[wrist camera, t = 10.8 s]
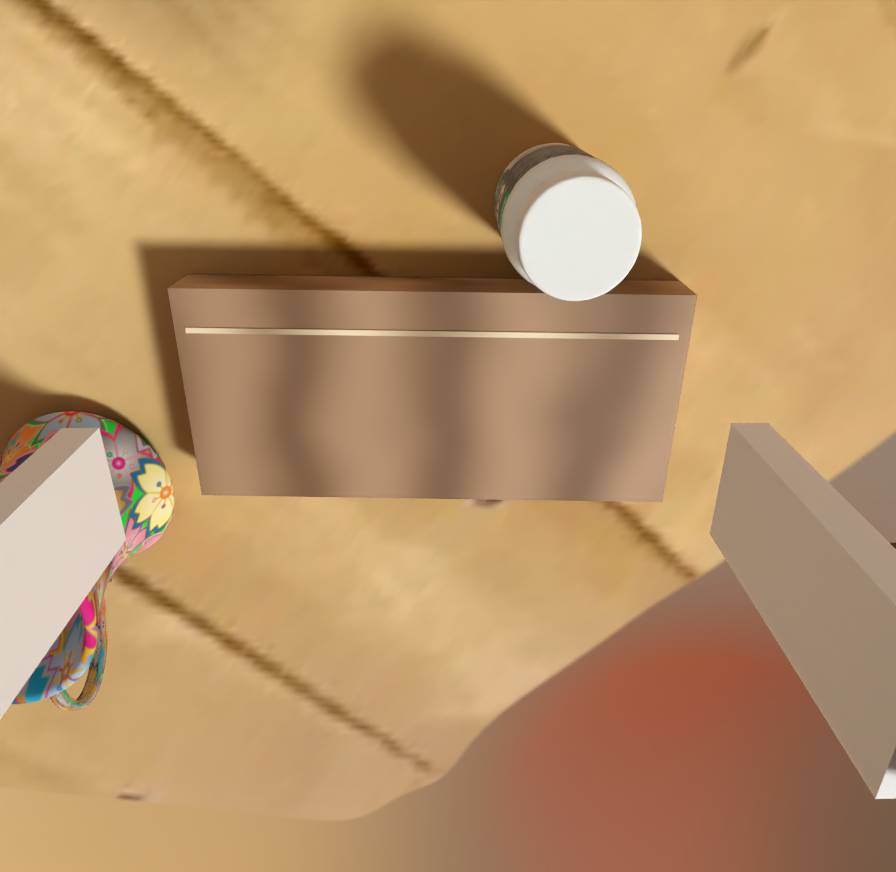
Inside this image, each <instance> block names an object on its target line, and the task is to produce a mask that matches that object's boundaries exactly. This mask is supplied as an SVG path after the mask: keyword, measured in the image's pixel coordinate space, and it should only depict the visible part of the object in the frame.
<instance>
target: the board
mask: <svg viewBox="0 0 896 872" xmlns="http://www.w3.org/2000/svg"><path fill="white" fill-rule="evenodd" d="M167 290H168V296H169V301H170V307H171V313H172V319H173V325H174V331H175V337H176V343H177V349H178V355H179V361H180V367H181V373H182V379H183V385H184V391H185V397H186V403H187V409H188V415H189V421H190V427H191V433H192V439H193V445H194V451H195V456H196V462H197V468H198V474H199V480H200V486H201V492H202V495H233V496H300V497H366V498H433V499H499V500H565V501H632V502H662V500H663V494H664V488H665V482H666V476H667V470H668V464H669V458H670V453H671V447H672V441H673V435H674V429H675V423H676V417H677V411H678V406H679V400H680V394H681V388H682V382H683V376H684V370H685V365H686V359H687V353H688V347H689V341H690V335H691V329H692V323H693V318H694V312H695V306H696V300H697V295H696V294H695V293H694V292H693V291H692V290H690V289H689V288H688V287H687V286H686V285H684V284H683V283H682V282H681V281H662V280H622V281H621V282H620V283H619V284H618V285H617V286H615V287H614V288H613V289H611V290H610V291H609V292H607V293H605V294H603V295H600V296H598V297H596V298H592V299H589V300H583V301H566V300H561V299H557V298H555V297H552V296H550V295H548V294H546V293H544V292H543V291H541V290H540V289H539V288H537V287H536V286H535V285H533V284H531V283H530V282H528V281H527V280H526V279H513V278H439V277H364V276H290V275H216V274H187V275H186V276H184V277H183V278H182V279H180V280H179V281H177V282H176V283H174V284H173V285H171V286H170V287H168V288H167Z"/></svg>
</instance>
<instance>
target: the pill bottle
mask: <svg viewBox="0 0 896 872" xmlns="http://www.w3.org/2000/svg"><path fill="white" fill-rule="evenodd" d="M494 206H495V218H496V221H497V225H498V228H499V232H500V236H501V239H502V242H503V246H504V249H505V252H506V255H507V257H508V259H509V261H510V262H511V264H512V265H513V267H514V268H515V269H516V271H517V272H518V273H519V274H520V275H521V276H522V277H523V278H524V279H526V280H527V281H528V282H530V283H531V284H533V285H535V286H536V287H537V288H539V289H540V290H541V291H543V292H544V293H546V294H548V295H550V296H552V297H555V298H557V299H561V300H566V301H583V300H589V299H592V298H596V297H598V296H600V295H603V294H605V293H607V292H609V291H610V290H611V289H613V288H614V287H615V286H617V285H618V284H619V283H620V282H621V281H622V280H623V279H624V278H625V277H626V276H627V274H628V273H629V271H630V270H631V268H632V267H633V265H634V263H635V261H636V259H637V256H638V254H639V250H640V246H641V239H642V228H641V220H640V216H639V213H638V210H637V208H636V204H635V200H634V197H633V194H632V192H631V190H630V188H629V186H628V185H627V183H626V181H625V180H624V179H623V178H622V176H621V175H620V174H619V173H618V172H617V171H616V170H615V169H614V168H612V167H611V166H609V165H608V164H606V163H605V162H603V161H601V160H599V159H597V158H595V157H593V156H592V155H590V154H588V153H586V152H584V151H582V150H580V149H578V148H576V147H574V146H572V145H568V144H563V143H546V144H541V145H538V146H535V147H532V148H530V149H528V150H526V151H524V152H522V153H521V154H520V155H518V156H517V157H516V158H514V159H513V160H512V161H511V162H510V164H509V165H508V166H507V167H506V169H505V170H504V172H503V174H502V176H501V178H500V180H499V182H498V185H497V188H496V194H495V203H494Z"/></svg>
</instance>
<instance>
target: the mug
mask: <svg viewBox="0 0 896 872" xmlns="http://www.w3.org/2000/svg"><path fill="white" fill-rule="evenodd" d="M61 428H99V429H100V433H101V437H102V441H103V445H104V449H105V453H106V458H107V462H108V466H109V470H110V474H111V478H112V483H113V487H114V491H115V495H116V499H117V503H118V507H119V512H120V516H121V520H122V524H123V528H124V532H125V536H126V540H125V542H124V543H123V545H122V546H121V547H120V549H119V550H118V552H117V553H116V555H115V556H114V557H113V559H112V560H111V562H110V563H109V565H108V566H107V567H106V569H105V570H104V572H103V573H102V575H101V576H100V577H99V579H98V580H97V582H96V583H95V585H94V586H93V587H92V589H91V590H90V592H89V593H88V595H87V596H86V597H85V599H84V600H83V602H82V603H81V605H80V606H79V607H78V609H77V610H76V612H75V613H74V615H73V616H72V617H71V619H70V620H69V622H68V623H67V625H66V626H65V627H64V629H63V630H62V632H61V633H60V635H59V636H58V637H57V639H56V640H55V642H54V643H53V645H52V646H51V647H50V649H49V650H48V652H47V653H46V655H45V656H44V657H43V659H42V660H41V662H40V663H39V665H38V666H37V667H36V669H35V670H34V672H33V673H32V675H31V676H30V677H29V679H28V680H27V682H26V683H25V685H24V686H23V687H22V689H21V690H20V692H19V693H18V695H17V696H16V697H15V699H14V700H13V702H12V703H11V704H23V703H30V702H35V701H39V700H42V699H46V698H48V697H50V699H51V700H52V702H53V703H54V704H55V705H57V706H58V707H59V708H61V709H64V710H78V709H81V708H84V707H86V706H87V705H88V704H89V703H90V702H91V701H92V700H93V699H94V697H95V696H96V694H97V692H98V690H99V687H100V684H101V681H102V677H103V673H104V668H105V662H106V653H107V616H106V607H105V601H104V595H103V594H104V591H105V588H106V586H107V584H108V583H109V582H111V581H112V575H113V573H114V572H115V570H116V569H117V567H118V566H119V565H120V564H121V563H122V562H123V561H124V560H125V559H126V558H127V557H129V556H131V555H134V554H137V553H139V552H141V551H143V550H145V549H147V548H148V547H150V546H151V545H152V544H154V543H155V542H156V541H157V540H158V539H159V538H160V537H161V536H162V535H163V534H164V532H165V531H166V529H167V527H168V525H169V523H170V521H171V518H172V514H173V509H174V490H173V485H172V482H171V478H170V476H169V473H168V471H167V469H166V467H165V465H164V463H163V462H162V460H161V459H160V457H159V456H158V455H157V453H156V452H155V451H154V450H153V449H152V448H151V447H150V445H149V444H148V443H146V442H145V441H144V440H143V439H142V438H141V437H140V436H138V435H137V434H136V433H134V432H133V431H131V430H130V429H128V428H127V427H125V426H123V425H121V424H119V423H117V422H115V421H113V420H110V419H108V418H105V417H102V416H99V415H95V414H90V413H85V412H73V411H66V412H56V413H51V414H47V415H44V416H41V417H38V418H36V419H33V420H32V421H30V422H28V423H26V424H25V425H23V426H22V427H21V428H20V429H19V430H18V431H16V433H15V434H14V435H13V436H12V437H11V439H10V441H9V442H8V444H7V446H6V448H5V450H4V453H3V456H2V461H1V466H0V483H1V482H2V481H3V480H4V479H5V478H6V477H7V476H8V475H10V474H11V473H12V472H13V471H14V470H15V469H16V468H17V467H19V466H20V465H21V464H22V463H23V462H24V461H25V460H27V459H28V458H29V457H30V456H31V455H32V454H33V453H34V452H36V451H37V450H38V449H39V448H40V447H41V446H42V445H43V444H45V443H46V442H47V441H48V440H49V439H50V438H51V437H52V436H54V435H55V434H56V433H57V432H58V431H59V430H60V429H61ZM89 664H90V666H89ZM88 666H89V672H88V676H87V680H86V683H85V686H84V688H83V690H82V692H81V694H80V696H79V697H78V698H77V699H76V700H74V699H72V698H71V697H70V696H69V695H68V693H67V692H66V690H65V689H66V688H68V687H69V686H70V685H72V684H73V683H74V682H75V681H77V680H78V679H79V678H80V677H81V675H82V674H83V673H84V672H85V670H86V669H87V667H88Z"/></svg>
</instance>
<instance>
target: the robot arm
mask: <svg viewBox="0 0 896 872" xmlns="http://www.w3.org/2000/svg"><path fill="white" fill-rule="evenodd" d="M710 535H711V536H712V538H713V540H714V541H715V543H716V544H717V546H718V548H719V549H720V551H721V552H722V554H723V556H724V557H725V559H726V560H727V562H728V564H729V565H730V567H731V568H732V570H733V572H734V573H735V575H736V576H737V578H738V580H739V581H740V583H741V584H742V586H743V588H744V589H745V591H746V592H747V594H748V596H749V597H750V599H751V600H752V602H753V604H754V605H755V607H756V608H757V610H758V612H759V613H760V615H761V616H762V618H763V620H764V621H765V623H766V624H767V626H768V628H769V629H770V631H771V632H772V634H773V636H774V637H775V639H776V640H777V642H778V643H779V645H780V647H781V648H782V650H783V652H784V653H785V655H786V656H787V658H788V660H789V661H790V663H791V664H792V666H793V668H794V669H795V671H796V672H797V674H798V676H799V677H800V679H801V680H802V682H803V684H804V685H805V687H806V688H807V690H808V692H809V693H810V695H811V696H812V698H813V700H814V701H815V703H816V704H817V706H818V708H819V709H820V711H821V712H822V714H823V716H824V717H825V719H826V721H827V722H828V724H829V725H830V727H831V728H832V730H833V732H834V733H835V735H836V737H837V738H838V740H839V741H840V743H841V745H842V746H843V748H844V749H845V751H846V752H847V754H848V756H849V757H850V759H851V760H852V762H853V763H854V765H855V767H856V768H857V770H858V772H859V773H860V775H861V776H862V778H863V780H864V781H865V783H866V784H867V786H868V788H869V789H870V791H871V792H872V794H873V796H874V797H875V799H883V798H885V799H887V798H896V543H889V542H888V541H887V540H886V539H885V538H884V537H883V536H882V535H881V534H880V533H879V532H878V531H877V530H876V529H875V528H873V526H872V525H871V524H869V522H868V521H867V520H866V519H865V518H863V517H862V515H860V514H859V513H858V512H857V511H856V510H855V509H854V508H853V507H852V506H851V505H850V504H849V503H848V502H847V501H846V500H845V499H844V498H843V497H842V496H841V495H840V494H839V493H838V492H837V491H836V490H835V489H834V488H833V487H832V486H831V485H830V484H829V483H828V482H827V481H826V480H825V479H824V478H823V477H822V476H821V475H820V474H819V473H818V472H817V471H816V470H815V469H814V468H813V467H812V466H811V465H810V464H809V463H808V462H807V461H806V460H805V459H804V458H803V457H802V456H801V455H800V454H799V453H798V452H797V451H796V450H795V449H794V448H793V447H792V446H791V445H790V444H789V443H788V442H787V441H785V440H784V439H783V438H782V437H781V436H780V435H779V434H778V433H777V432H776V431H775V430H774V429H773V428H772V427H771V426H770V425H769V424H768V423H731V428H730V433H729V438H728V443H727V448H726V453H725V459H724V464H723V469H722V474H721V479H720V484H719V490H718V495H717V500H716V505H715V510H714V515H713V521H712V526H711V531H710ZM125 540H126V536H125V532H124V528H123V524H122V520H121V516H120V512H119V507H118V503H117V499H116V495H115V491H114V487H113V483H112V478H111V474H110V470H109V466H108V462H107V458H106V453H105V449H104V445H103V441H102V437H101V433H100V429H99V428H61V429H60V430H59V431H58V432H57V433H56V434H55V435H54V436H52V437H51V438H50V439H49V440H48V441H47V442H46V443H45V444H43V445H42V446H41V447H40V448H39V449H38V450H37V451H36V452H34V453H33V454H32V455H31V456H30V457H29V458H28V459H27V460H25V461H24V462H23V463H22V464H21V465H20V466H19V467H17V468H16V469H15V470H14V471H13V472H12V473H11V474H10V475H8V476H7V477H6V478H5V479H4V480H3V481H2V482H1V483H0V719H1V717H2V716H3V715H4V713H5V712H6V710H7V709H8V707H9V706H10V705H11V703H12V702H13V700H14V699H15V697H16V696H17V695H18V693H19V692H20V690H21V689H22V687H23V686H24V685H25V683H26V682H27V680H28V679H29V677H30V676H31V675H32V673H33V672H34V670H35V669H36V667H37V666H38V665H39V663H40V662H41V660H42V659H43V657H44V656H45V655H46V653H47V652H48V650H49V649H50V647H51V646H52V645H53V643H54V642H55V640H56V639H57V637H58V636H59V635H60V633H61V632H62V630H63V629H64V627H65V626H66V625H67V623H68V622H69V620H70V619H71V617H72V616H73V615H74V613H75V612H76V610H77V609H78V607H79V606H80V605H81V603H82V602H83V600H84V599H85V597H86V596H87V595H88V593H89V592H90V590H91V589H92V587H93V586H94V585H95V583H96V582H97V580H98V579H99V577H100V576H101V575H102V573H103V572H104V570H105V569H106V567H107V566H108V565H109V563H110V562H111V560H112V559H113V557H114V556H115V555H116V553H117V552H118V550H119V549H120V547H121V546H122V545H123V543H124V542H125Z"/></svg>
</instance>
